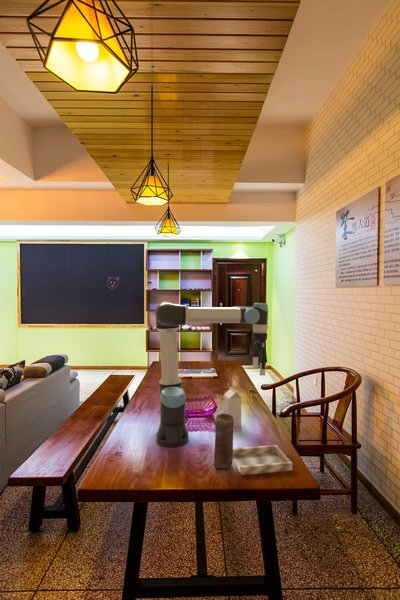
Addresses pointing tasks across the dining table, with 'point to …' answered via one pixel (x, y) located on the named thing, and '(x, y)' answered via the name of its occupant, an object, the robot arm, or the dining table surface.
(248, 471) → the tray
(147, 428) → the dining table surface
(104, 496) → the dining table surface
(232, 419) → the candle
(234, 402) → the milk carton
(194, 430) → the dining table surface
